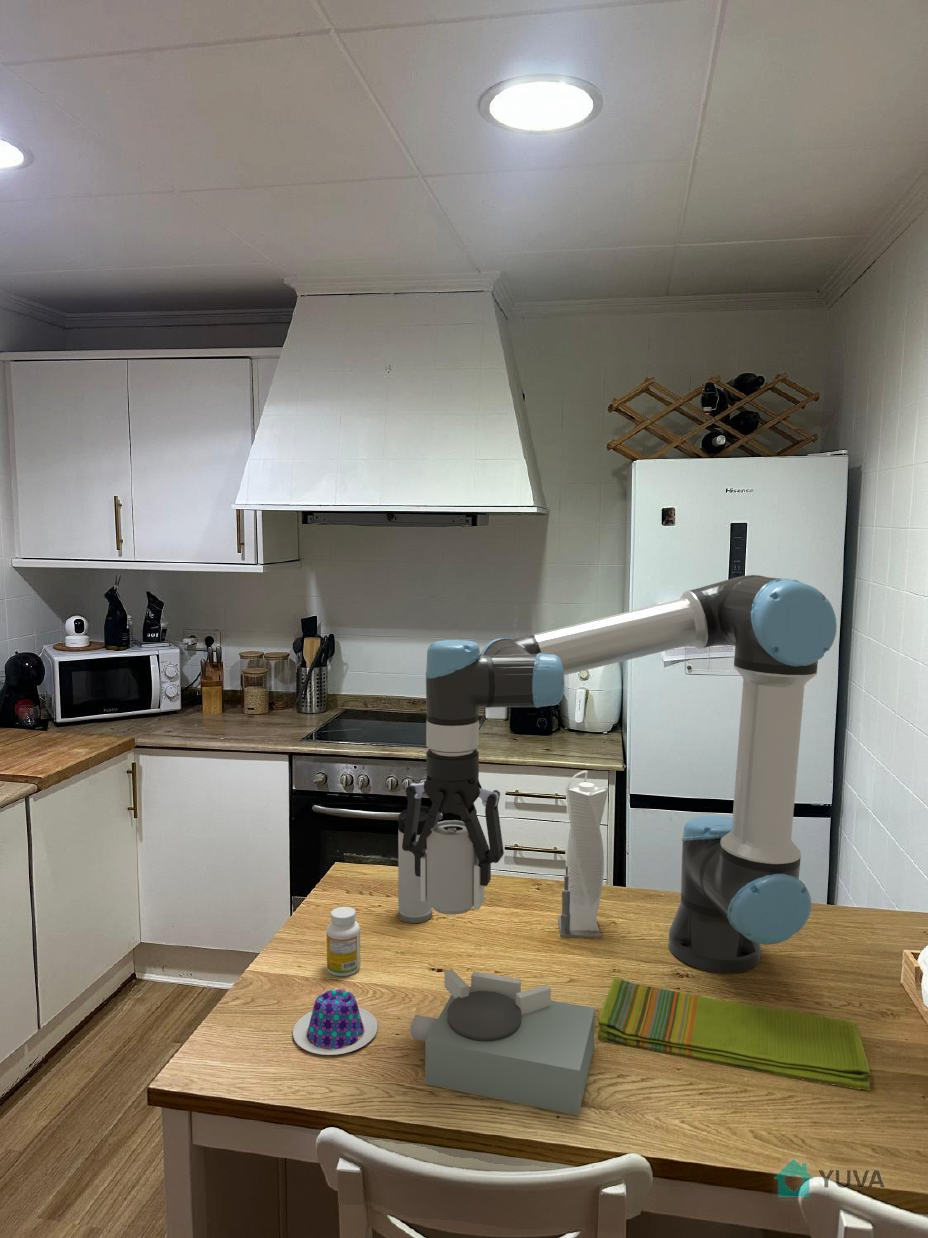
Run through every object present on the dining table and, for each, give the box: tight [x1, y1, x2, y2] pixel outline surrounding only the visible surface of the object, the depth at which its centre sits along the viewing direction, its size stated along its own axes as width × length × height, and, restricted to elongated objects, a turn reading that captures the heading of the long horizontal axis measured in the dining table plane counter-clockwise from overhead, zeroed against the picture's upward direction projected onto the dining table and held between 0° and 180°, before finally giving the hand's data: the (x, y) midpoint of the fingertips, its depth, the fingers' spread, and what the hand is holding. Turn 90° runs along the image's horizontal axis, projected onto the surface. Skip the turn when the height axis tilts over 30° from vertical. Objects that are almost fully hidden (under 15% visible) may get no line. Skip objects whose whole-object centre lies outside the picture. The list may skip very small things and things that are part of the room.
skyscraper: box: [557, 770, 609, 939], centre depth 151 cm, size 8×8×28 cm
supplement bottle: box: [326, 906, 361, 977], centre depth 137 cm, size 5×5×10 cm
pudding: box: [292, 988, 378, 1056], centre depth 121 cm, size 12×12×5 cm
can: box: [427, 819, 478, 916], centre depth 123 cm, size 8×8×12 cm
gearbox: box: [410, 968, 596, 1117], centre depth 114 cm, size 24×14×8 cm, turn 74°
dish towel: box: [597, 977, 872, 1091], centre depth 121 cm, size 15×36×3 cm, turn 72°
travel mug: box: [397, 805, 433, 924], centre depth 155 cm, size 6×7×20 cm
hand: (452, 901), depth 123 cm, fingers closed on can, 7 cm apart
